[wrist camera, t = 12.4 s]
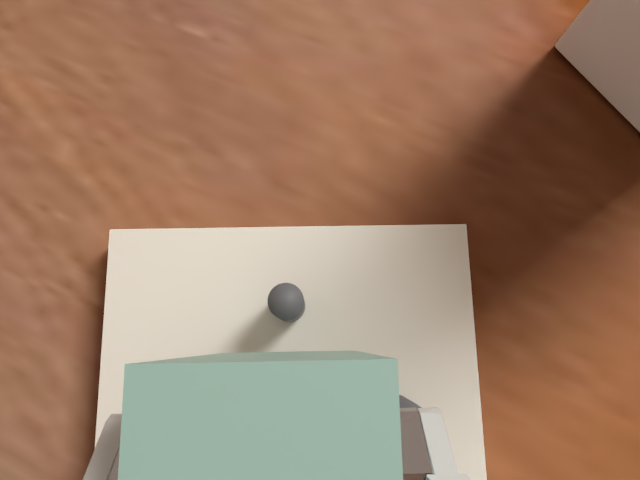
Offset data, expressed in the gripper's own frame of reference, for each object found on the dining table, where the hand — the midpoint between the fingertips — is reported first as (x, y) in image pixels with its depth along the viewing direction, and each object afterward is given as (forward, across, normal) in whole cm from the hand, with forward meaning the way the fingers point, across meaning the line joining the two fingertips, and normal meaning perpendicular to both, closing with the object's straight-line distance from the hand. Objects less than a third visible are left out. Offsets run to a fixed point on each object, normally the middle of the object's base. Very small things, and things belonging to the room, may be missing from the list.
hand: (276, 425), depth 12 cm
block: (+3, 0, +4) cm, 5 cm away
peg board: (+5, 0, +6) cm, 8 cm away
